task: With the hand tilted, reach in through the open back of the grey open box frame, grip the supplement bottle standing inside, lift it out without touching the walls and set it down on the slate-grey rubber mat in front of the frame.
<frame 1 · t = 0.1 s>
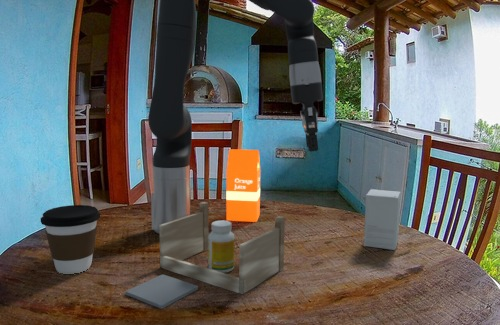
hand: (312, 149, 105), 22 cm above the table, tool pointing down, fingers open, 8 cm apart
supplement box: (381, 244, 103), on the table
supplement bottle: (221, 269, 87), on the table
grey open box frame: (221, 268, 87), on the table
orange juice: (243, 218, 124), on the table
coffee cup: (73, 269, 86), on the table
mat: (162, 291, 76), on the table
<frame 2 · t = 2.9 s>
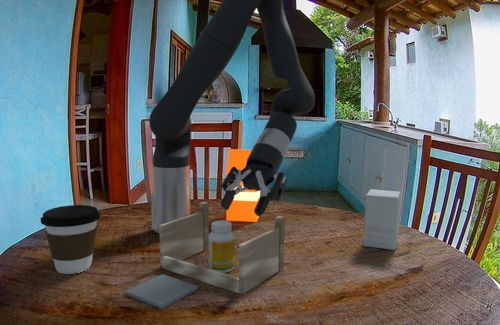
hand: (240, 211, 90), 11 cm above the table, tool tilted 45°, fingers open, 8 cm apart
nothing on the table moved.
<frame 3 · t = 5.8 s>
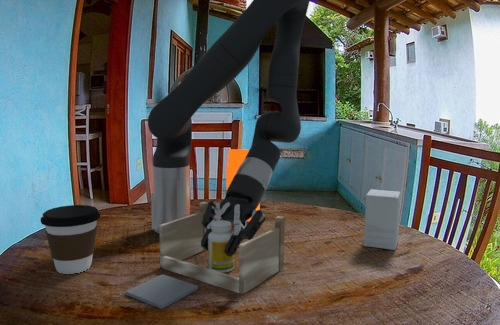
hand: (215, 251, 85), 4 cm above the table, tool tilted 45°, fingers closed on supplement bottle, 5 cm apart
supplement bottle: (221, 269, 87), on the table, touching gripper
everything else where it was.
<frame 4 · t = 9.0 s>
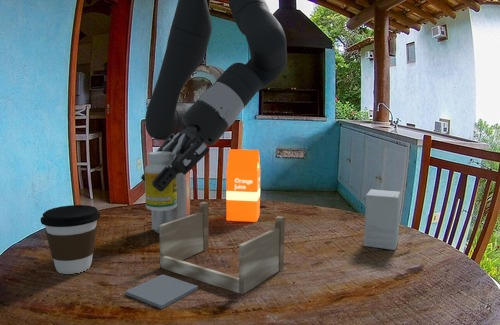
hand: (150, 184, 72), 20 cm above the table, tool tilted 45°, fingers closed on supplement bottle, 5 cm apart
supplement bottle: (161, 208, 74), point 15 cm above the table, touching gripper
everything else where it was.
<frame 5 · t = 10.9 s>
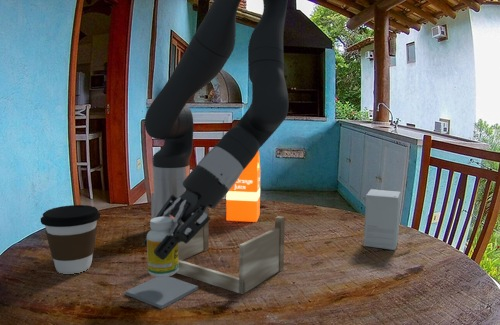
hand: (152, 250, 74), 8 cm above the table, tool tilted 45°, fingers closed on supplement bottle, 5 cm apart
supplement bottle: (163, 272, 75), point 4 cm above the table, touching gripper
everything else where it was.
when the fingers open (6 cm above the table, at t = 12.3 s): supplement bottle drops 1 cm, resting on mat.
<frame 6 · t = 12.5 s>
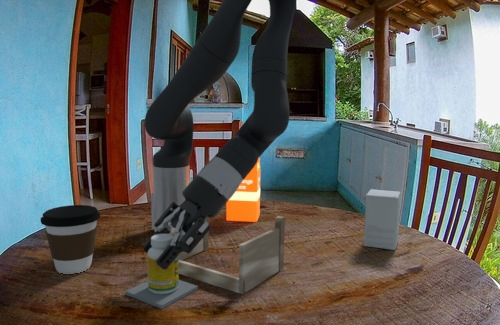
hand: (153, 259, 74), 6 cm above the table, tool tilted 45°, fingers open, 7 cm apart
supplement bottle: (163, 289, 76), resting on mat
everything else where it was.
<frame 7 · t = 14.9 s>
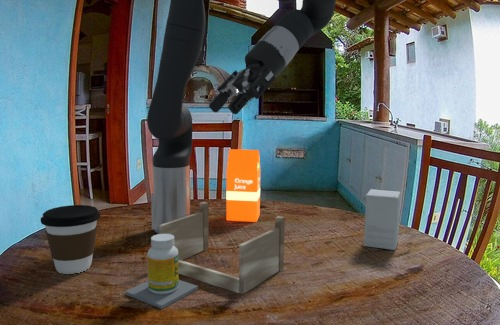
hand: (221, 110, 83), 32 cm above the table, tool tilted 45°, fingers open, 8 cm apart
nothing on the table moved.
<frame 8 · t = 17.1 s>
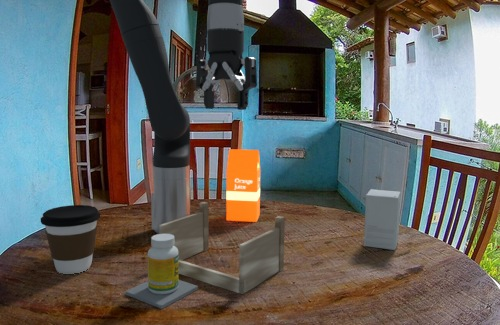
hand: (225, 109, 89), 32 cm above the table, tool pointing down, fingers open, 8 cm apart
nothing on the table moved.
at the end: supplement bottle inside the target area on the mat (0.2 cm from its centre), point 0.4 cm above the mat's base; supplement bottle tilted 0°; the gripper is holding nothing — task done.
